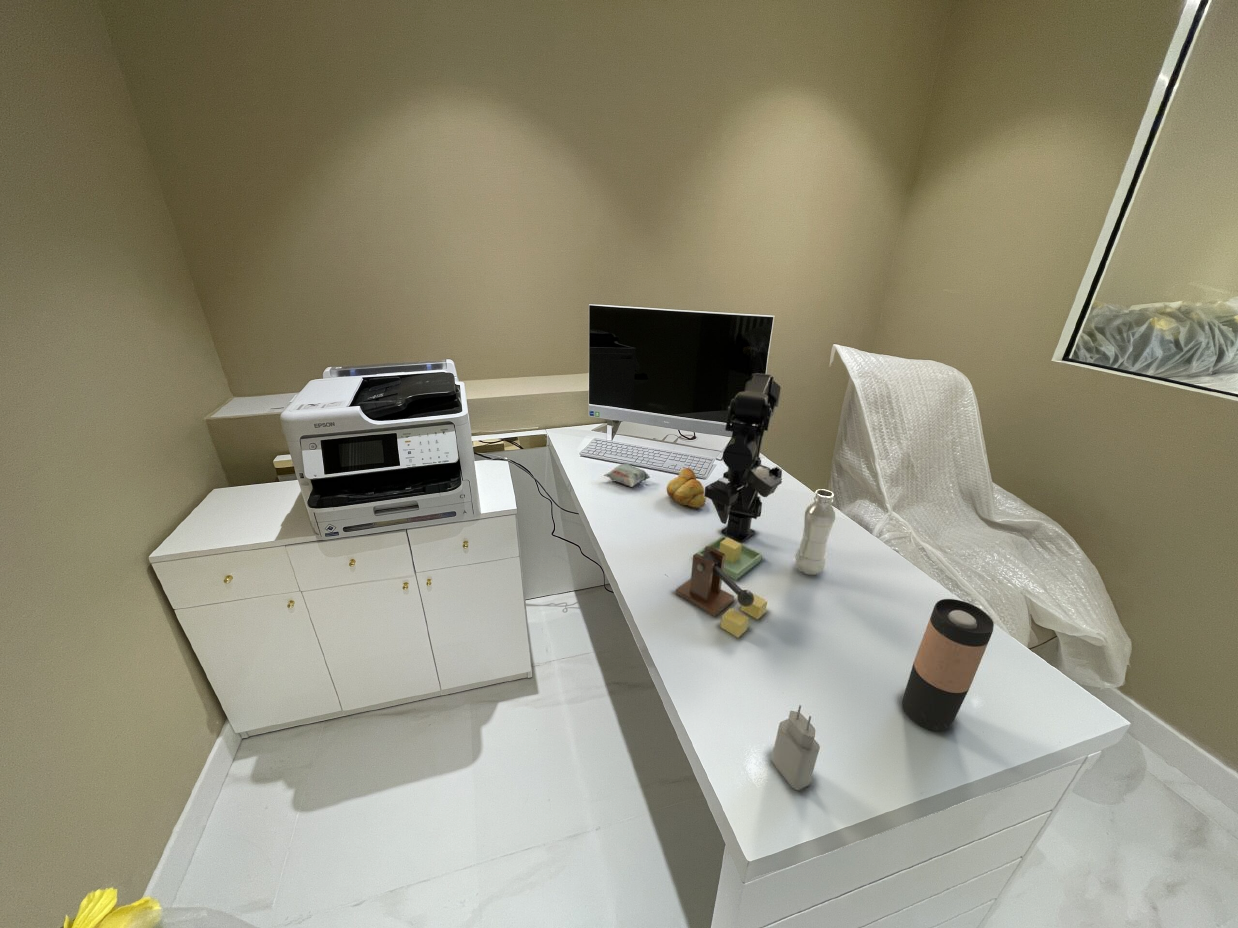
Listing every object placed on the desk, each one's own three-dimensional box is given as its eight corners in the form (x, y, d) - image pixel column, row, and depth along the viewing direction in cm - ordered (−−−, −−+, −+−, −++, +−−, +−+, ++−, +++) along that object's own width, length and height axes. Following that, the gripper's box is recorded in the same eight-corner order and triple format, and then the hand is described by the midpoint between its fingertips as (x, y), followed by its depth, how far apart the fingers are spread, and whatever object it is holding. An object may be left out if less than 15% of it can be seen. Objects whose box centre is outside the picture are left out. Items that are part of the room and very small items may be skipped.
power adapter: (785, 749, 75) (799, 691, 70) (812, 782, 70) (829, 722, 65) (769, 757, 73) (782, 698, 68) (795, 791, 69) (811, 731, 64)
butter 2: (748, 603, 105) (750, 591, 104) (765, 612, 102) (767, 600, 101) (740, 609, 103) (742, 598, 102) (757, 619, 100) (759, 607, 99)
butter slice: (725, 551, 121) (727, 537, 119) (739, 558, 118) (742, 544, 117) (718, 556, 119) (720, 542, 117) (733, 563, 116) (735, 549, 115)
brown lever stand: (733, 600, 105) (740, 558, 101) (714, 616, 101) (720, 572, 96) (695, 579, 112) (699, 538, 107) (675, 593, 107) (679, 551, 103)
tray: (722, 541, 126) (723, 535, 125) (761, 560, 119) (762, 553, 118) (696, 559, 119) (696, 552, 118) (736, 580, 112) (737, 573, 111)
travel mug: (890, 693, 84) (922, 598, 76) (933, 691, 85) (969, 596, 77) (918, 734, 78) (957, 635, 69) (965, 731, 78) (1009, 632, 70)
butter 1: (729, 619, 100) (730, 607, 99) (746, 629, 98) (748, 617, 96) (720, 627, 98) (722, 615, 97) (738, 637, 96) (740, 625, 94)
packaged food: (632, 492, 149) (633, 477, 147) (603, 480, 156) (603, 466, 154) (650, 483, 155) (651, 469, 153) (621, 472, 162) (621, 458, 160)
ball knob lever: (752, 604, 100) (760, 595, 98) (743, 612, 97) (751, 603, 95) (705, 558, 105) (711, 549, 103) (695, 564, 103) (702, 555, 101)
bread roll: (712, 508, 142) (715, 482, 138) (682, 514, 138) (685, 488, 135) (688, 488, 152) (690, 464, 149) (660, 494, 149) (662, 469, 145)
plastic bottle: (824, 565, 118) (841, 489, 109) (821, 581, 112) (839, 503, 104) (795, 558, 120) (810, 483, 112) (791, 573, 114) (807, 496, 106)
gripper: (754, 477, 96) (743, 546, 103) (799, 452, 109) (787, 514, 115) (706, 460, 103) (699, 525, 110) (753, 438, 116) (745, 498, 122)
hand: (734, 515), depth 114 cm, fingers open, 9 cm apart
